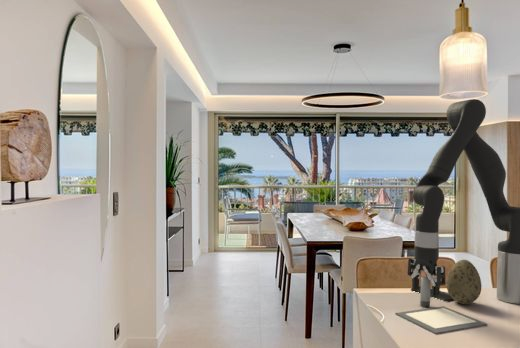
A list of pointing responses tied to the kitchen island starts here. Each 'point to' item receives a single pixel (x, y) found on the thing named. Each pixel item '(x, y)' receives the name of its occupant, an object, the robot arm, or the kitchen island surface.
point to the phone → (442, 296)
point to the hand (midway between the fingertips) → (425, 293)
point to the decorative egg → (463, 282)
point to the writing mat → (440, 319)
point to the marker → (425, 290)
